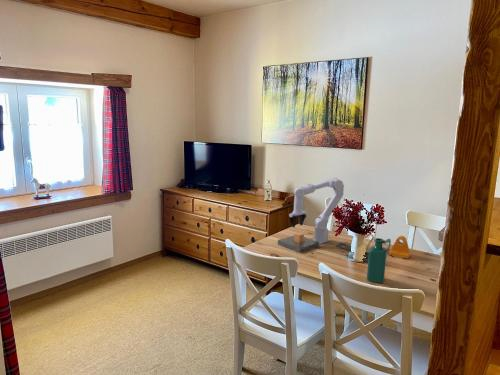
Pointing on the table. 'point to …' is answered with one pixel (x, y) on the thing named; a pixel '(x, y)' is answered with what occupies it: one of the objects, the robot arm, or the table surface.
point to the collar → (298, 244)
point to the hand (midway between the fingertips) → (297, 225)
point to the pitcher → (377, 261)
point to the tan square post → (298, 237)
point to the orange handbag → (400, 248)
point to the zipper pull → (348, 248)
